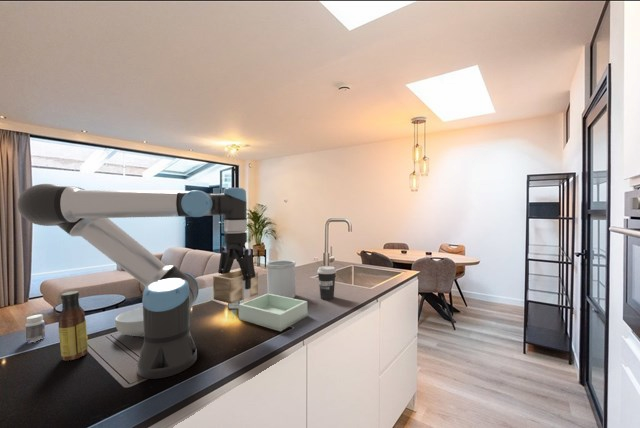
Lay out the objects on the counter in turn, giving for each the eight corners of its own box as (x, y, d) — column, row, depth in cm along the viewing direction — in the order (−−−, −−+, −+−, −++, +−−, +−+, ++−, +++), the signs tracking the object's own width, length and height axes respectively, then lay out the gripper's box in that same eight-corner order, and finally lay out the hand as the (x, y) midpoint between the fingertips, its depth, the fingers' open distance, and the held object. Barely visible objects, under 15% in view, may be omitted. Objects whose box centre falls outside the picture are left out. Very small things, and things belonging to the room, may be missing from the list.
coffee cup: (314, 296, 141) (313, 266, 140) (331, 293, 145) (330, 265, 144) (322, 302, 132) (322, 270, 132) (340, 299, 136) (339, 268, 136)
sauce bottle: (85, 349, 90) (83, 288, 90) (90, 355, 86) (88, 291, 86) (57, 357, 85) (55, 293, 85) (61, 365, 81) (59, 296, 81)
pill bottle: (47, 339, 98) (46, 315, 98) (28, 344, 94) (27, 320, 94) (42, 336, 100) (41, 312, 100) (23, 341, 96) (22, 317, 96)
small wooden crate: (231, 303, 91) (230, 279, 91) (213, 299, 96) (213, 276, 95) (257, 294, 101) (257, 272, 101) (240, 290, 106) (240, 269, 106)
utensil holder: (261, 300, 136) (260, 264, 135) (273, 291, 150) (273, 259, 150) (290, 302, 132) (289, 265, 132) (299, 293, 147) (299, 260, 146)
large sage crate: (280, 331, 101) (280, 314, 101) (238, 319, 113) (238, 304, 113) (307, 315, 115) (307, 301, 115) (268, 306, 127) (267, 293, 127)
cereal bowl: (180, 325, 108) (179, 307, 108) (142, 345, 92) (141, 324, 92) (145, 321, 113) (144, 303, 112) (103, 339, 97) (102, 319, 96)
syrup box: (244, 305, 130) (244, 274, 129) (239, 309, 124) (239, 277, 123) (232, 304, 130) (232, 273, 130) (227, 309, 124) (226, 277, 124)
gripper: (266, 232, 95) (266, 298, 96) (224, 230, 107) (225, 288, 107) (249, 234, 89) (250, 304, 89) (206, 231, 101) (207, 293, 101)
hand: (236, 295), depth 98 cm, fingers closed on small wooden crate, 9 cm apart
